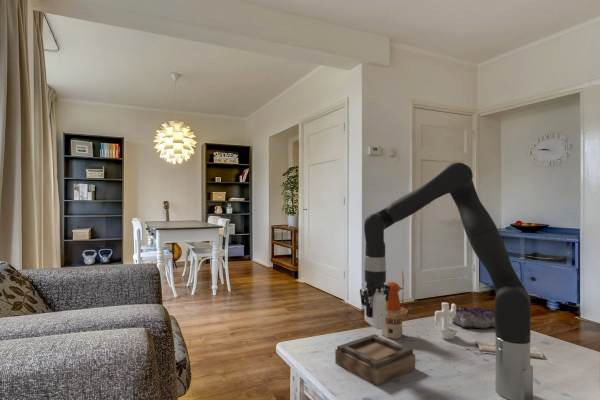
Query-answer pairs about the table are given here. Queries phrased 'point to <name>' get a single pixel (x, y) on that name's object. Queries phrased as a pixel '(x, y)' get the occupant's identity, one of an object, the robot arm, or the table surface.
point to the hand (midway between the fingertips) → (375, 315)
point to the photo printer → (378, 312)
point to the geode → (474, 318)
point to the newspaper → (492, 348)
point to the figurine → (445, 321)
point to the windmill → (394, 312)
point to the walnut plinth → (376, 355)
